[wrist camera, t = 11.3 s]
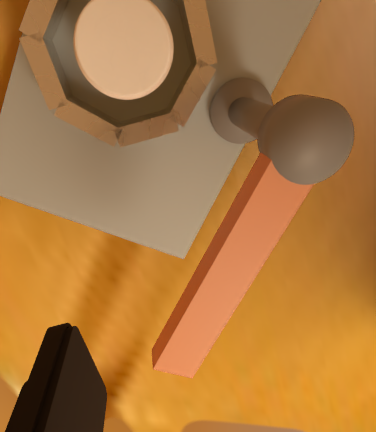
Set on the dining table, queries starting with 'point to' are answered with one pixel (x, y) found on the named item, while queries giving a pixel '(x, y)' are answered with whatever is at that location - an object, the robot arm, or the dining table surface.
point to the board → (156, 147)
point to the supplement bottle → (123, 47)
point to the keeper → (255, 223)
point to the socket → (95, 119)
